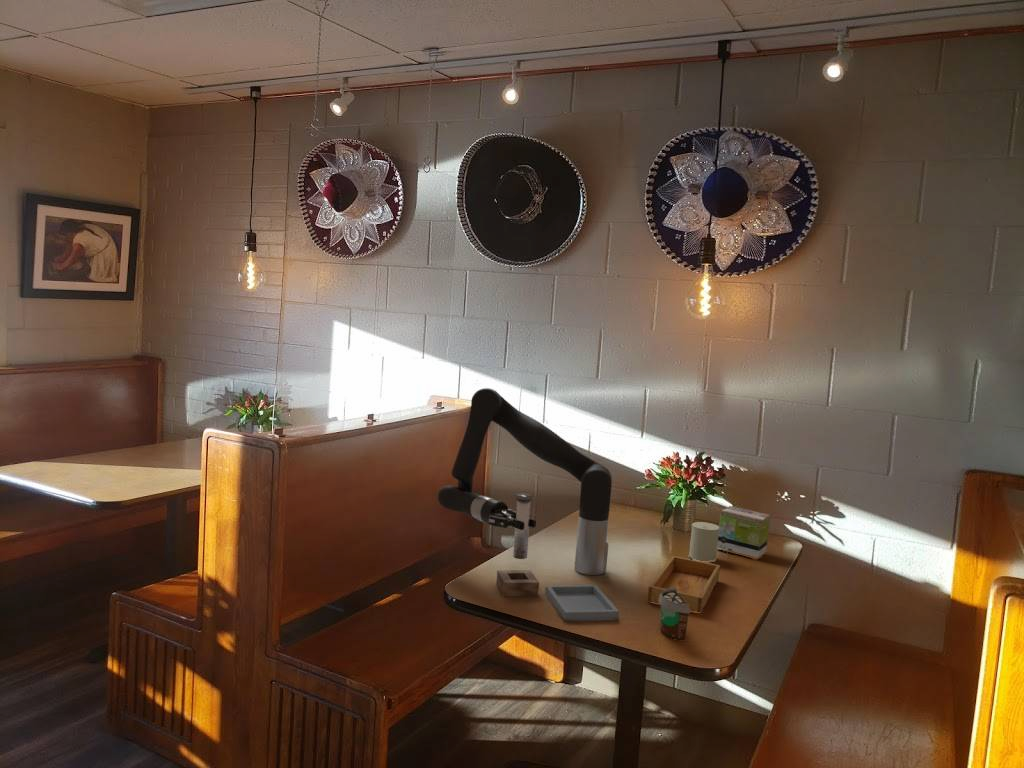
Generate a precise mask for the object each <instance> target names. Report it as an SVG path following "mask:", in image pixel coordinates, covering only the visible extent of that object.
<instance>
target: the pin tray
mask: <svg viewBox="0 0 1024 768" xmlns="http://www.w3.org/2000/svg"><path fill="white" fill-rule="evenodd" d="M544 594H545V596H546V597H547V599H548V600H549V601H550V603H551V602H552V603H551V604H552V606H553V607H554V609H555V608H556V609H555V610H556V611H557V613H558V614H559V616H560V617H561V618H562V620H563V622H564V623H565V622H598V621H602V622H603V620H605V621H606V620H607V621H619V618H620V617H619V616H620V611H619V609H618V608H617V607H616V605H614V604H613V603H612V601H611V600H610V599H609V598H608V597H607V596H606V595H605V594H604V593H603V591H602V590H601V589H600V588H599V587H598V585H596V584H570V585H569V584H568V585H567V584H566V585H565V584H560V585H559V584H557V585H556V584H555V585H554V584H553V585H545V593H544ZM605 621H604V622H605Z"/></svg>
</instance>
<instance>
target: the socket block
mask: <svg viewBox="0 0 1024 768" xmlns="http://www.w3.org/2000/svg"><path fill="white" fill-rule="evenodd" d="M496 571H497V572H496V586H497V587H498V589H499V591H500V592H501V594H502V597H503V598H505V597H507V598H510V597H512V596H513V597H512V598H514V597H515V596H516V597H518V596H521V597H539V593H540V590H539V589H540V582H539V580H538V579H537V577H536V576H535V574H534V573H533V572H532V570H531V569H519V570H518V569H517V570H516V569H514V570H513V569H512V570H511V569H506V570H504V569H503V570H501V569H500V570H499V569H498V570H496Z"/></svg>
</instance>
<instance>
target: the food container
mask: <svg viewBox="0 0 1024 768" xmlns="http://www.w3.org/2000/svg"><path fill="white" fill-rule="evenodd" d="M658 601H659V603H660V604H661V605H660V621H659V622H660V626H659V627H660V631H661V632H660V633H661V635H663V636H664V637H666V638H668V637H669V638H668V639H670V638H672V639H671V640H674V639H676V640H675V641H678V640H683V641H682V642H685V641H686V636H687V628H688V622H689V614H690V613H691V612H690V605H686V604H685V602H684V600H683V598H682V597H680V596H679V595H678V593H677V588H670V589H665V590H663V591H662V593H661V594H660V597H659V600H658ZM684 640H685V641H684Z"/></svg>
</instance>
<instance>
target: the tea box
mask: <svg viewBox="0 0 1024 768" xmlns="http://www.w3.org/2000/svg"><path fill="white" fill-rule="evenodd" d="M770 522H771V514H768V513H763V512H758V511H754V510H750V509H746V508H740V507H737V506H732V505H729V506H727V507H726V508H724V509H722V510H720V516H719V524H718V526H719V535H718V543H717V547H718V548H721V549H725V550H729V551H734V552H737V553H741V554H745V555H750V556H754V557H759V556H760V555H762V554H763V553H764V552H765V551H766V552H767V545H768V538H769V533H770V532H769V530H770Z"/></svg>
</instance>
